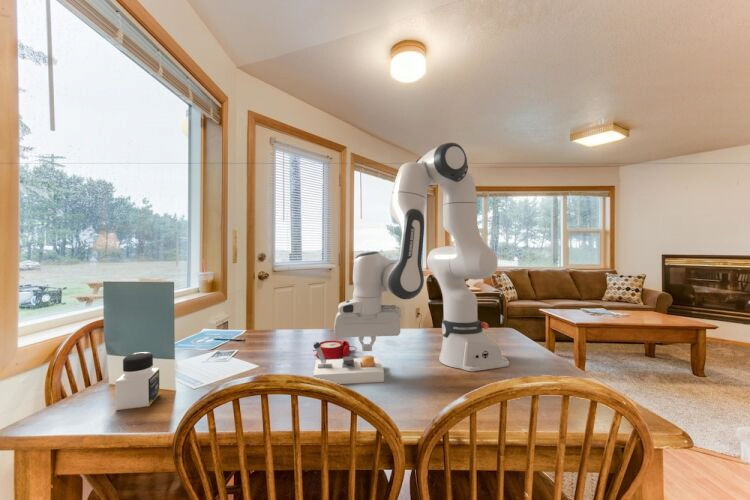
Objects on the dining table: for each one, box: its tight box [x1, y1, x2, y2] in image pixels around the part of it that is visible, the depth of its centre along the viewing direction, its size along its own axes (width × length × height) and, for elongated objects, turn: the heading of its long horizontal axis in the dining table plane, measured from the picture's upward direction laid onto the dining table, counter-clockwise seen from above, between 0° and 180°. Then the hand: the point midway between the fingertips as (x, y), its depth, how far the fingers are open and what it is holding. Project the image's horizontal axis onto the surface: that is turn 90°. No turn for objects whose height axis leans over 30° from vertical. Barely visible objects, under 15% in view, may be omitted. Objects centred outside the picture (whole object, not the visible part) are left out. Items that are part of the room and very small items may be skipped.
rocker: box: [342, 355, 354, 364], centre depth 97 cm, size 3×7×1 cm, turn 7°
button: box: [361, 355, 375, 368], centre depth 98 cm, size 4×4×4 cm
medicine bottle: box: [114, 351, 160, 411], centre depth 81 cm, size 7×7×12 cm
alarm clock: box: [312, 340, 358, 360], centre depth 117 cm, size 10×6×15 cm
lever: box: [313, 341, 327, 365], centre depth 96 cm, size 2×2×7 cm
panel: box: [312, 356, 385, 385], centre depth 97 cm, size 20×12×3 cm, turn 97°
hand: (367, 350), depth 98 cm, fingers closed
